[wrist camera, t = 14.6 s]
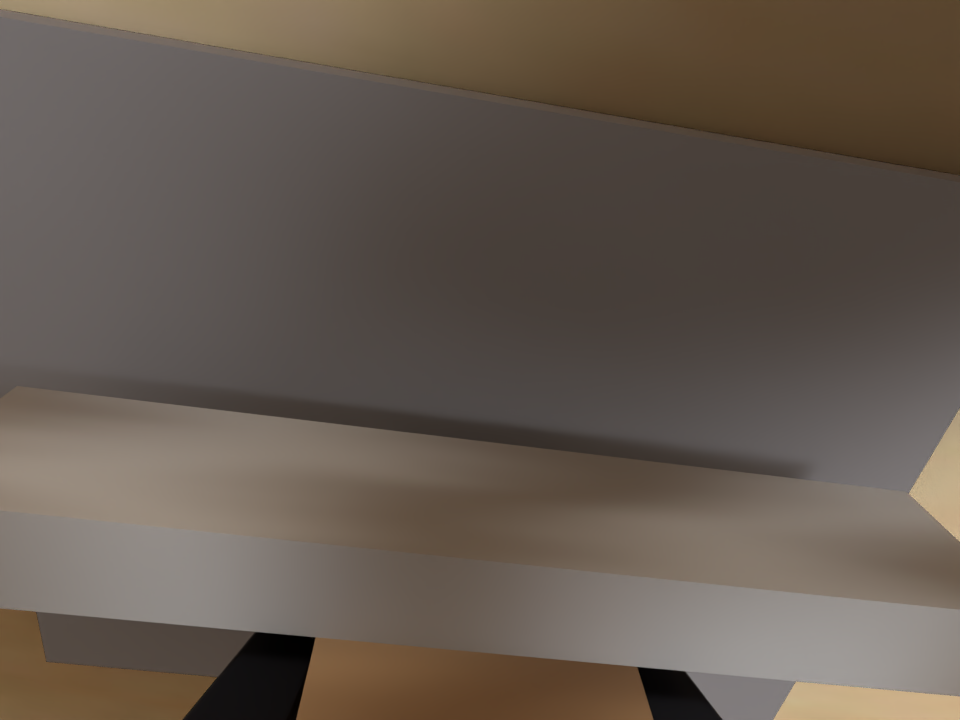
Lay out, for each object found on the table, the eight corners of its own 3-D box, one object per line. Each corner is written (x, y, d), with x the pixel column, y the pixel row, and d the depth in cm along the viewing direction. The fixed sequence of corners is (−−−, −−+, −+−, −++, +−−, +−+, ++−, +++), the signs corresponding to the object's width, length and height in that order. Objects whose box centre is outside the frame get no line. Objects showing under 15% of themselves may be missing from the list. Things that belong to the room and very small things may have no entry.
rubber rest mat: (1054, 191, 10) (1081, 203, 9) (759, 704, 15) (769, 727, 14) (-58, -1, 8) (-89, 2, 8) (59, 638, 14) (46, 661, 13)
